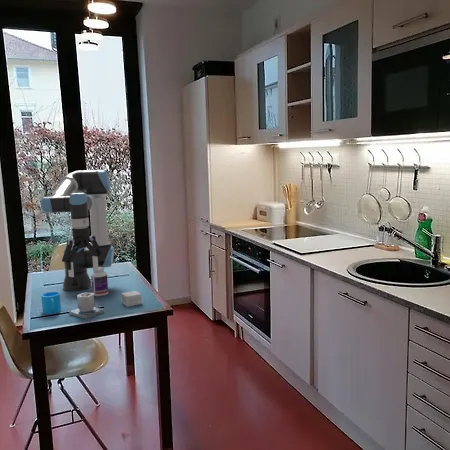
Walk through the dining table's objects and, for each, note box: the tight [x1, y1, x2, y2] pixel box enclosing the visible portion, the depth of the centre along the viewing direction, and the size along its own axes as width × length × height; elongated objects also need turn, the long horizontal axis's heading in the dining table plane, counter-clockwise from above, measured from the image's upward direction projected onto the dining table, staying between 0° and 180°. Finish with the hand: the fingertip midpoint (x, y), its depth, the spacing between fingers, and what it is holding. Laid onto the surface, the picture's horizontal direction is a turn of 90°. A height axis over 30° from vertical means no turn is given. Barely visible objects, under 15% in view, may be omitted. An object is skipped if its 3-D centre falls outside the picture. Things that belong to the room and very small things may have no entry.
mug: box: [40, 291, 62, 315], centre depth 212 cm, size 12×8×8 cm
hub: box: [76, 291, 96, 310], centre depth 208 cm, size 7×7×6 cm
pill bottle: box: [90, 267, 109, 297], centre depth 237 cm, size 8×8×14 cm
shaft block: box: [68, 294, 105, 320], centre depth 208 cm, size 12×10×9 cm
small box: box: [120, 290, 143, 307], centre depth 222 cm, size 8×8×5 cm
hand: (84, 273), depth 207 cm, fingers open, 13 cm apart
